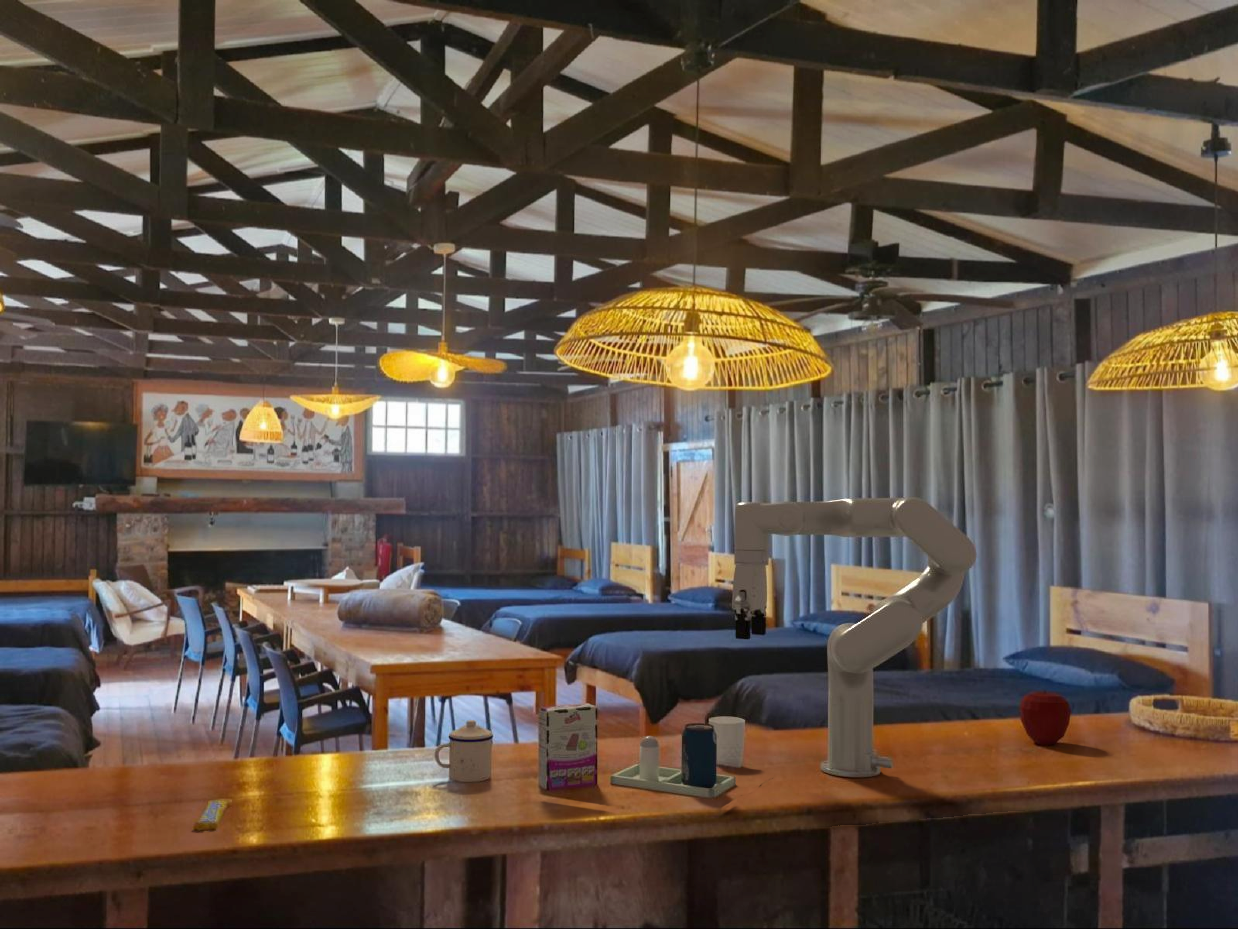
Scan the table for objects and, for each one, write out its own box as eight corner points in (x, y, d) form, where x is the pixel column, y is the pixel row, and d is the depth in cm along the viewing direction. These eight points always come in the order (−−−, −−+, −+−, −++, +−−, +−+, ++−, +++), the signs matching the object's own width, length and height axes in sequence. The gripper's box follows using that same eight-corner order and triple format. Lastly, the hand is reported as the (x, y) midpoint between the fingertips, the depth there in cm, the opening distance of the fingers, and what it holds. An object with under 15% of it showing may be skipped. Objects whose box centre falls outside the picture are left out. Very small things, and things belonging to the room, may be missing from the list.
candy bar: (217, 833, 183) (217, 822, 183) (191, 834, 182) (191, 823, 182) (232, 806, 199) (232, 796, 199) (208, 807, 198) (208, 797, 198)
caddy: (735, 789, 215) (735, 776, 215) (712, 803, 204) (712, 790, 204) (636, 775, 225) (637, 763, 225) (610, 788, 214) (610, 775, 214)
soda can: (722, 786, 213) (722, 725, 214) (706, 793, 207) (707, 731, 208) (691, 781, 217) (691, 721, 217) (675, 788, 211) (675, 726, 211)
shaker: (662, 779, 218) (662, 735, 218) (653, 784, 214) (654, 739, 214) (644, 777, 219) (644, 733, 220) (635, 781, 216) (636, 736, 216)
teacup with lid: (485, 771, 227) (486, 715, 228) (497, 781, 219) (498, 723, 219) (429, 775, 223) (430, 718, 223) (439, 786, 214) (440, 727, 215)
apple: (1079, 749, 257) (1079, 693, 257) (1030, 748, 257) (1030, 692, 257) (1059, 738, 269) (1059, 685, 269) (1012, 737, 269) (1012, 684, 269)
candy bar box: (587, 783, 218) (588, 702, 218) (598, 789, 213) (599, 706, 214) (536, 789, 212) (537, 706, 213) (546, 795, 208) (547, 710, 209)
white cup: (743, 771, 230) (743, 724, 230) (706, 769, 232) (706, 722, 232) (746, 763, 238) (746, 717, 238) (710, 760, 239) (711, 715, 240)
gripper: (749, 556, 245) (748, 632, 244) (720, 559, 229) (720, 639, 229) (780, 557, 241) (780, 634, 240) (753, 560, 226) (753, 642, 225)
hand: (750, 636), depth 235 cm, fingers open, 9 cm apart
